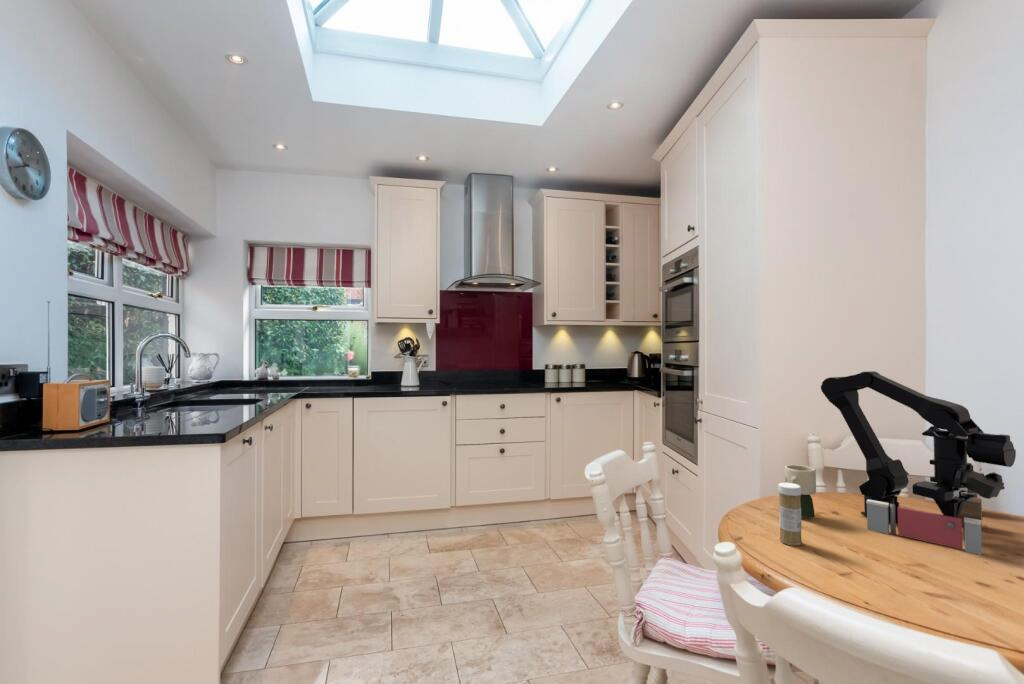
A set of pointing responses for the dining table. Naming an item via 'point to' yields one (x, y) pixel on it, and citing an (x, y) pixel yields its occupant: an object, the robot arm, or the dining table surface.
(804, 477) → the character mug
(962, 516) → the block
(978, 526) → the pair of grey plates
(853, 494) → the dining table surface
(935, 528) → the door
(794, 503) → the sprinkles bottle
